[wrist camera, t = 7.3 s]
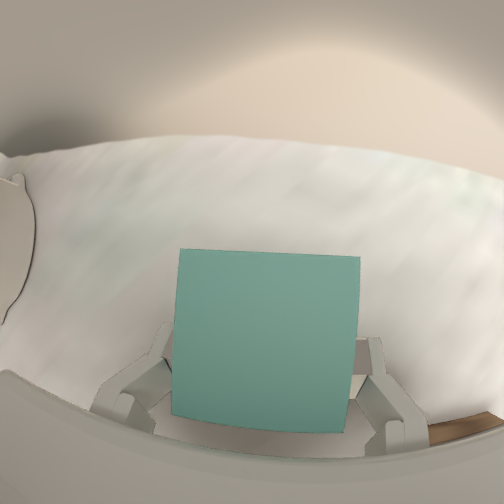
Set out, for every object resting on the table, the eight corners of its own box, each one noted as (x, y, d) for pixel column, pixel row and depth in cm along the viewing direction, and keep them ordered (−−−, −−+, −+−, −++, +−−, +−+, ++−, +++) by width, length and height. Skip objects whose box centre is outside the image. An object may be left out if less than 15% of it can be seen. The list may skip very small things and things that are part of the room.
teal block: (229, 363, 15) (171, 414, 7) (235, 274, 16) (180, 248, 8) (320, 370, 14) (343, 432, 7) (326, 279, 15) (360, 256, 7)
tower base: (385, 501, 15) (394, 524, 11) (407, 426, 16) (424, 444, 12) (460, 483, 13) (475, 500, 10) (485, 410, 15) (506, 421, 11)
